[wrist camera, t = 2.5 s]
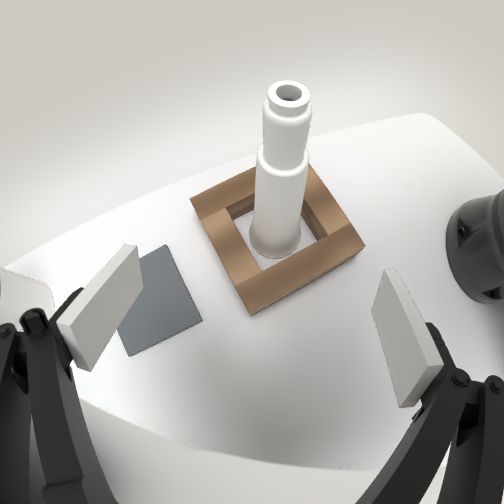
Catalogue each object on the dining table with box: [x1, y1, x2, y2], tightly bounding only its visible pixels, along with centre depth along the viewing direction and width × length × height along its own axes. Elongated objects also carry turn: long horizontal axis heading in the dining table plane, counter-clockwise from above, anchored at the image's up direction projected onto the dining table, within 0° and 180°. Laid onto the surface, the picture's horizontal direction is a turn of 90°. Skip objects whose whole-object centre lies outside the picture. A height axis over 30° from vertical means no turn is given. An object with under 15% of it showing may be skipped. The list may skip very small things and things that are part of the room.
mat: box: [117, 244, 203, 356], centre depth 33 cm, size 10×10×1 cm
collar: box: [190, 164, 365, 315], centre depth 33 cm, size 14×14×4 cm
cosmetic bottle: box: [249, 81, 312, 258], centre depth 24 cm, size 6×6×22 cm
